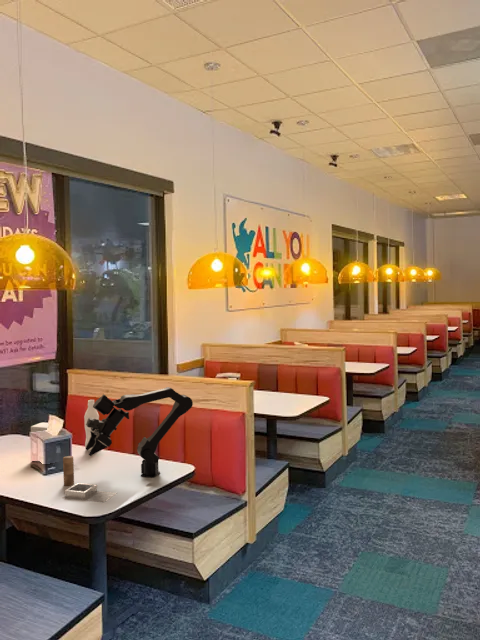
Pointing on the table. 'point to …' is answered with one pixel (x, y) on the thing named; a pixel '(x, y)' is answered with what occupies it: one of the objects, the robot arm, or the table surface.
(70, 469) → the stay rod
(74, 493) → the beige square tray
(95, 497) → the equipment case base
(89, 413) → the water bottle
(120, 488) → the table surface
